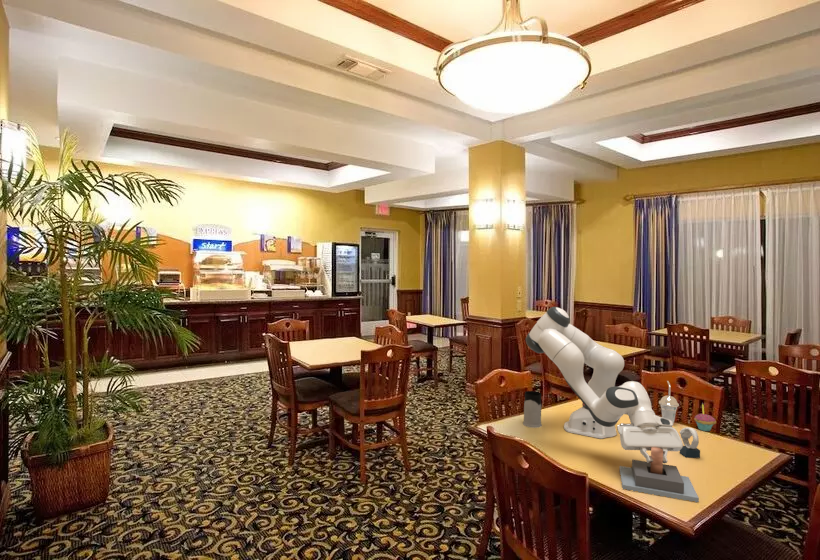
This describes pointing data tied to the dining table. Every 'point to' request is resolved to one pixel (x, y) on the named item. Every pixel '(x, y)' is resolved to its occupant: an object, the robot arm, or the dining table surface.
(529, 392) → the glass holder
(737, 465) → the dining table surface
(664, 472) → the tool stand
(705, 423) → the cupcake
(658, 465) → the brown upright cylinder
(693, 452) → the watch
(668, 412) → the cup with straw
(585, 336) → the robot arm
